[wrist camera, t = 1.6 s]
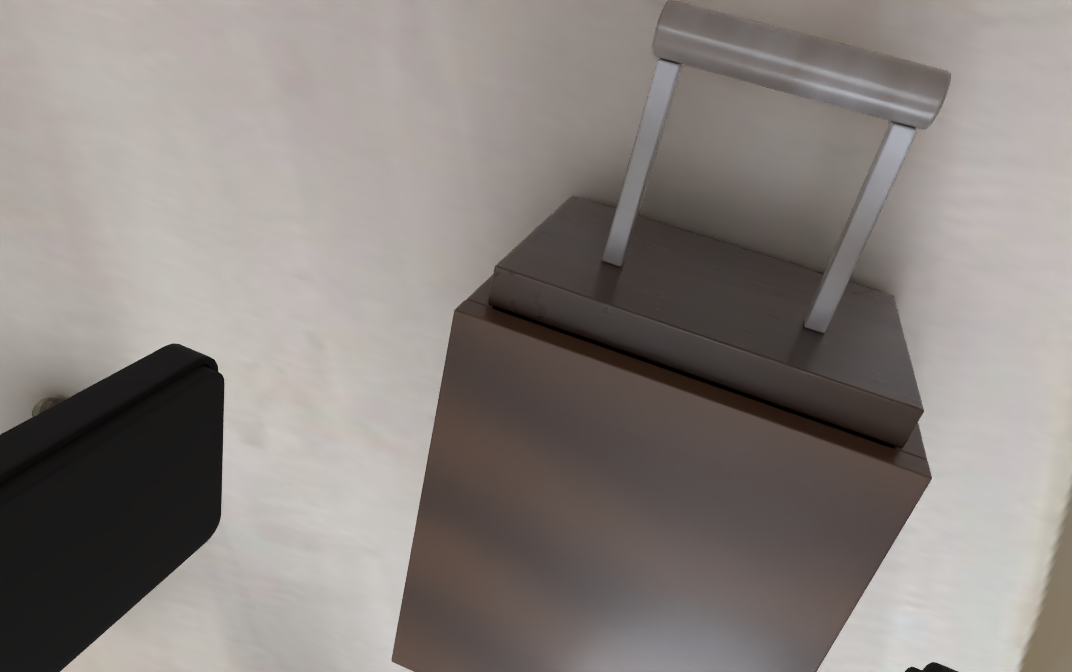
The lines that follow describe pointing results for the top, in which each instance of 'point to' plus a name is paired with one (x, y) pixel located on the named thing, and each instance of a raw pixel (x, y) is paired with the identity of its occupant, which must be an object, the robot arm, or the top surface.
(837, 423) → the drawer
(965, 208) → the top surface
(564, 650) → the cabinet
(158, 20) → the top surface
